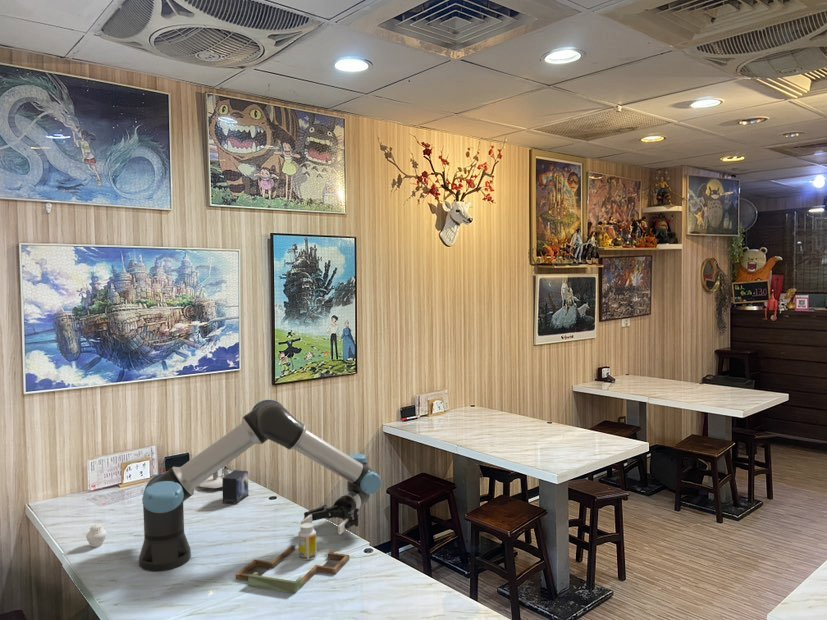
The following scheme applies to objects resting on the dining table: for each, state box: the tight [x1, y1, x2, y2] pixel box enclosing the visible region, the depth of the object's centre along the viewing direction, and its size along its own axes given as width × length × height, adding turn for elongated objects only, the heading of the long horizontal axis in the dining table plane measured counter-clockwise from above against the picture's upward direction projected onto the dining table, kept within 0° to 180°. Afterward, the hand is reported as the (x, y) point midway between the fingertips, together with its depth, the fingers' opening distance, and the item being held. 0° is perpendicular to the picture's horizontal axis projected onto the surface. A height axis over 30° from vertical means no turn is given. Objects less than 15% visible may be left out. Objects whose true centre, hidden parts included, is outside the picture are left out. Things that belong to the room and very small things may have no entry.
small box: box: [221, 469, 249, 505], centre depth 246 cm, size 11×6×10 cm, turn 168°
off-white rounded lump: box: [85, 524, 108, 548], centre depth 205 cm, size 6×6×7 cm
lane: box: [235, 544, 350, 594], centre depth 185 cm, size 25×27×3 cm
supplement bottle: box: [297, 523, 317, 561], centre depth 193 cm, size 6×6×10 cm
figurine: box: [197, 465, 231, 489], centre depth 266 cm, size 20×18×16 cm
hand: (320, 528), depth 201 cm, fingers open, 13 cm apart
